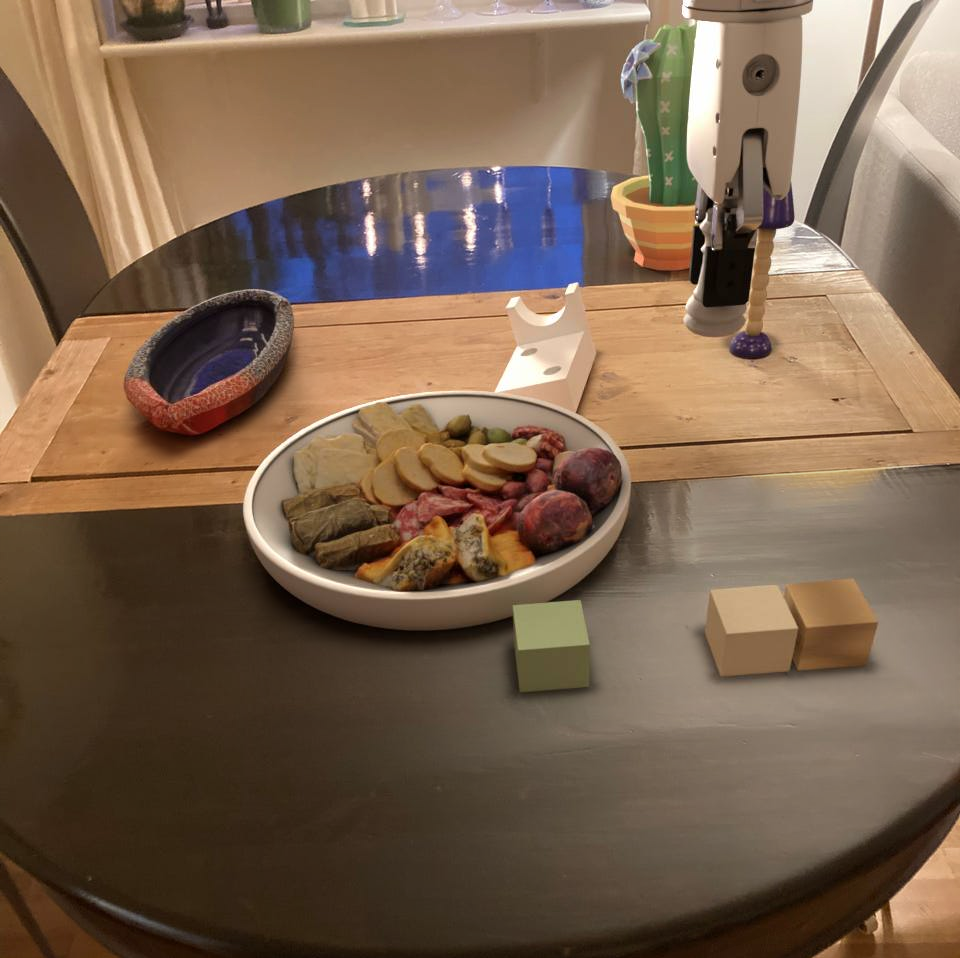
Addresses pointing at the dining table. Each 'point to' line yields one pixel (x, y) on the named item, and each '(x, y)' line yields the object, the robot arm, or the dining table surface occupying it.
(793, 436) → the dining table surface
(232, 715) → the dining table surface
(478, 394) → the bowl
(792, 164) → the robot arm
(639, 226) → the potted cactus
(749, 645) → the cream block
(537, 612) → the sage block
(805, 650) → the birch block
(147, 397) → the dish
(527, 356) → the bracket
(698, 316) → the rook chess piece
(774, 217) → the toy lamp
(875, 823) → the dining table surface
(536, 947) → the dining table surface
